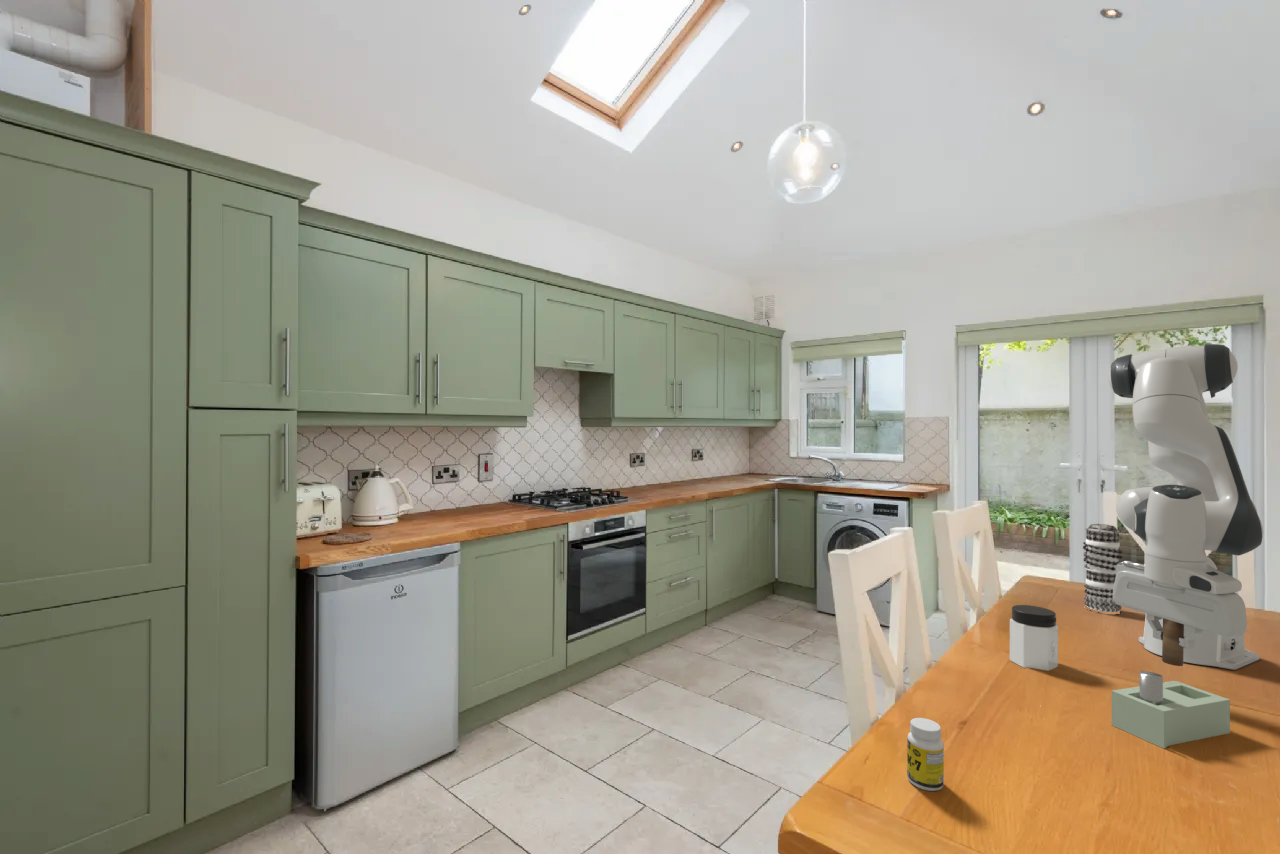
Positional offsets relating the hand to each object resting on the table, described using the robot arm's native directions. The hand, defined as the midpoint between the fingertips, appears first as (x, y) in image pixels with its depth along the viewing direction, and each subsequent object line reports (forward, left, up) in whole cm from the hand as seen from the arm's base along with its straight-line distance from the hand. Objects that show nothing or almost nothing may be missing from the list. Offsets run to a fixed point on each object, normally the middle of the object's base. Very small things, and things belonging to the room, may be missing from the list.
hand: (1173, 643), depth 112 cm
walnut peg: (0, 0, -4) cm, 4 cm away
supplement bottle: (+66, +8, -11) cm, 67 cm away
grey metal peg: (+18, +7, -11) cm, 22 cm away
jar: (+9, -22, -11) cm, 26 cm away
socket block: (+13, +7, -11) cm, 19 cm away
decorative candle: (-49, -48, -11) cm, 69 cm away
